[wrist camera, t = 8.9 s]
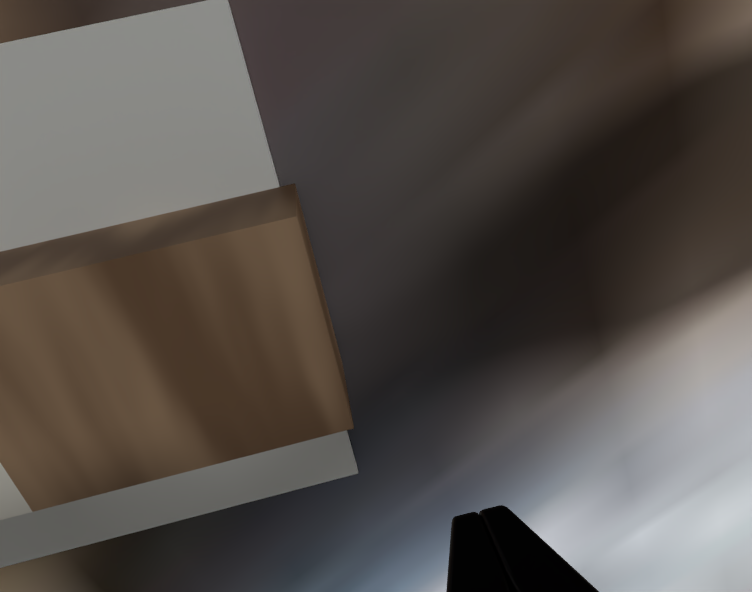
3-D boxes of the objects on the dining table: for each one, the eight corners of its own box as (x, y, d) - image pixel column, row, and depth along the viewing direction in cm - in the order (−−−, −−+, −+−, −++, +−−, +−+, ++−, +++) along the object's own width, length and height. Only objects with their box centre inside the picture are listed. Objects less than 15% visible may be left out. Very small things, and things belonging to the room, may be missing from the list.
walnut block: (296, 216, 14) (-185, 329, 13) (353, 428, 17) (-35, 529, 16) (294, 183, 17) (-82, 270, 17) (342, 362, 20) (24, 442, 20)
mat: (227, -3, 15) (226, -4, 15) (357, 468, 23) (358, 473, 23) (-385, 125, 14) (-397, 126, 14) (-34, 571, 22) (-38, 577, 22)
